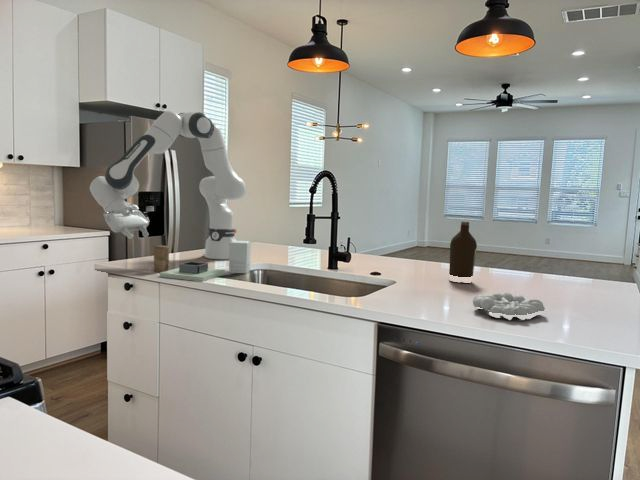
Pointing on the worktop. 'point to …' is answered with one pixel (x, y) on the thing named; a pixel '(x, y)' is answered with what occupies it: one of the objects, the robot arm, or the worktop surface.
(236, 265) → the supplement box
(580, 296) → the worktop surface
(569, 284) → the worktop surface
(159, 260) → the brown wooden block
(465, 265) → the olive oil
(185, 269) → the dark grey square tray
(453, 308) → the worktop surface
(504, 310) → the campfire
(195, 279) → the jar plate
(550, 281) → the worktop surface
